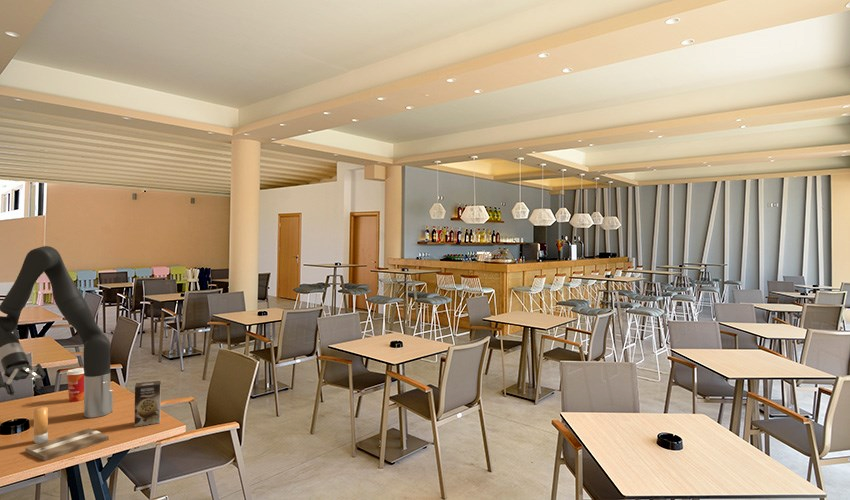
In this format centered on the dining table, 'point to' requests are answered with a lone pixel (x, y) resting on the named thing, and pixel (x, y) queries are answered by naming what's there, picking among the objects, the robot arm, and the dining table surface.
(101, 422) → the dining table surface
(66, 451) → the board
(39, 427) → the tan cylinder
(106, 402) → the robot arm
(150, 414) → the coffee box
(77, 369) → the paper cup
